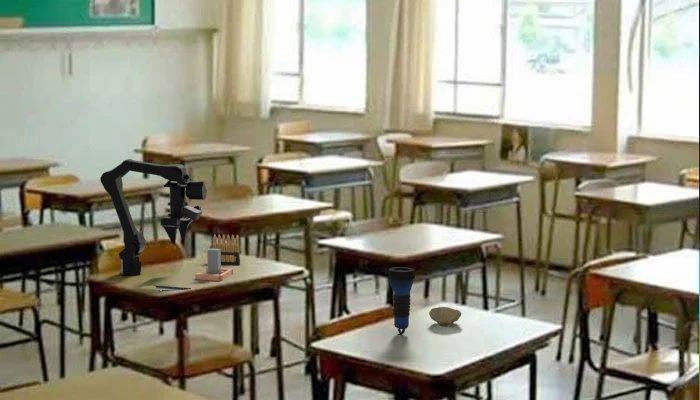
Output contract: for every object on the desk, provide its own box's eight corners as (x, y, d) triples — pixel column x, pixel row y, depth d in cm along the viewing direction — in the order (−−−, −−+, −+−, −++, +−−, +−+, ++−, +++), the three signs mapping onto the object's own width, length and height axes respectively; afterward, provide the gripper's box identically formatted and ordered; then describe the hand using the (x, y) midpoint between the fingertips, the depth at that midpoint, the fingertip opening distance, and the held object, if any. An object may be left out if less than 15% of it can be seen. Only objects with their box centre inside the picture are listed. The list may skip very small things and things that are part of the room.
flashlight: (398, 328, 357) (399, 265, 354) (418, 333, 353) (420, 268, 350) (382, 334, 351) (383, 269, 348) (403, 338, 346) (404, 272, 343)
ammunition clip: (212, 264, 449) (211, 234, 448) (213, 263, 451) (212, 233, 449) (239, 265, 448) (239, 234, 447) (240, 264, 450) (240, 234, 448)
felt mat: (159, 291, 403) (159, 290, 403) (154, 285, 412) (154, 285, 412) (191, 289, 407) (191, 288, 407) (185, 283, 416) (185, 282, 415)
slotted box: (195, 282, 418) (195, 274, 418) (207, 275, 430) (207, 267, 429) (221, 284, 416) (221, 275, 415) (232, 277, 427) (232, 269, 427)
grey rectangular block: (207, 276, 422) (207, 249, 420) (210, 275, 425) (210, 248, 423) (218, 277, 421) (217, 250, 419) (220, 275, 424) (220, 248, 422)
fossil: (465, 308, 360) (434, 303, 358) (465, 321, 358) (434, 315, 356) (454, 322, 367) (424, 316, 365) (454, 334, 365) (424, 328, 363)
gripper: (188, 203, 413) (189, 247, 415) (207, 196, 431) (208, 238, 433) (159, 202, 416) (160, 245, 418) (179, 195, 434) (180, 236, 436)
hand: (178, 241), depth 426 cm, fingers open, 9 cm apart
